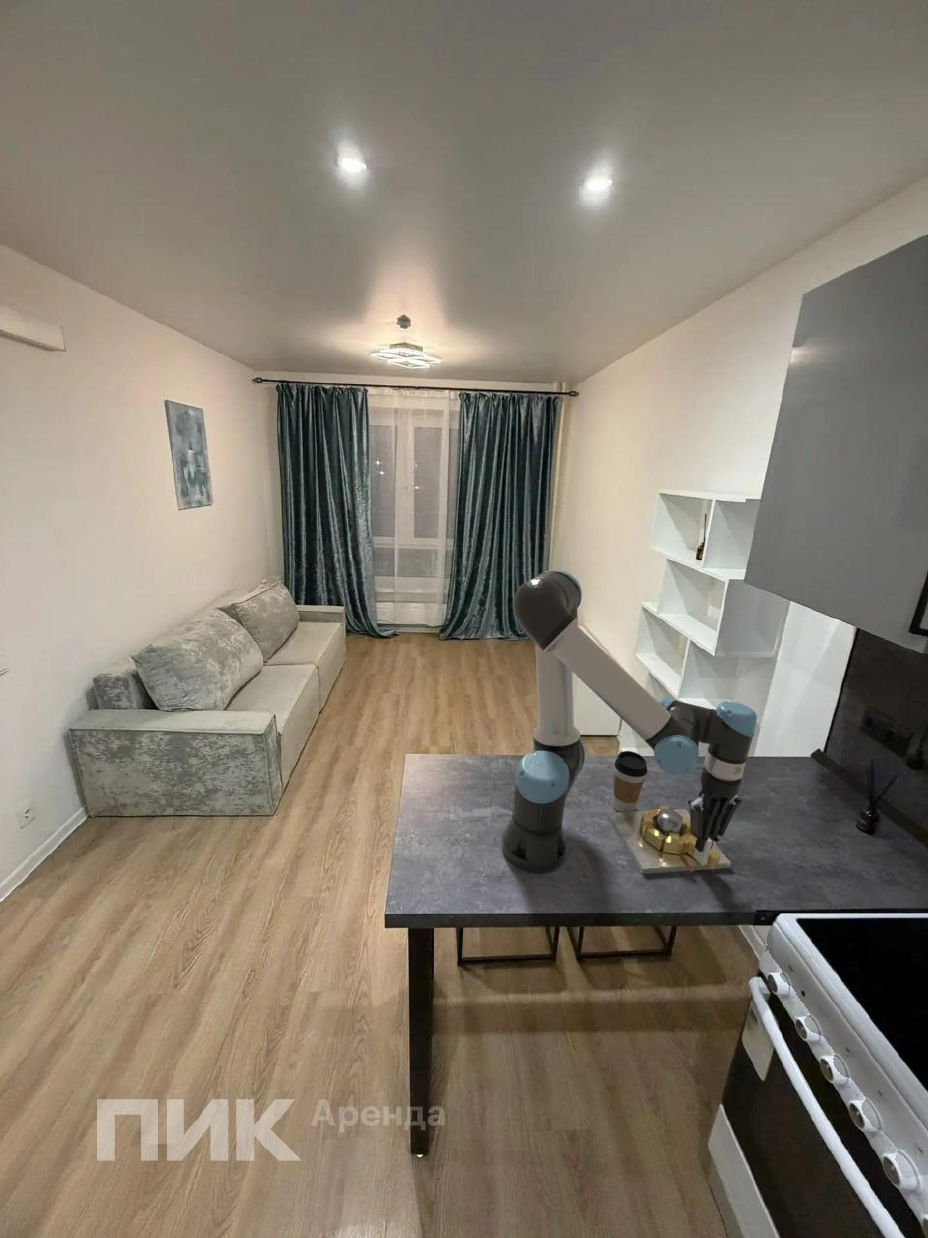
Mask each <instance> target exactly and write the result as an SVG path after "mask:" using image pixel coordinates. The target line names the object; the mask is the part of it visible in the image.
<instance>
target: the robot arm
mask: <svg viewBox="0 0 928 1238" xmlns="http://www.w3.org/2000/svg"><path fill="white" fill-rule="evenodd" d="M582 594H583V593H582V588H581V585H580V583H579V581H578V580H577V579H576V577H575V576H573V575H572V574H571V573H569V572H567V571H565V570H561V569H551V570H546V571H543V572H541V573H539V574H538V575H537V576H535V577H533V578H531V579H529V580H527V581H524V583H522V584H521V585H520V586H519V588H518V589H517V591H516V592H515V594H514V597H513V604H512V607H513V608H512V609H513V613H514V617H515V619H516V621H517V622H518V625H519V627H521V629H522V630H523V632H524V633H526V635H527V636H528V637H529V638H530V639H531V640H532V642H534V644H535V647H534V649H535V650H534V651H535V667H536V669H535V670H536V689H537V690H536V691H537V692H536V693H537V695H536V696H537V711H538V713H537V716H538V727H536V728H535V729H534V731H533V733H532V734H533V737H532V739H533V741H532V743H533V752H528V753H526V754H525V755H524V756H522V758H521V759H520V760H519V762H518V764H517V768H516V771H515V777H514V779H515V782H514V784H515V785H514V791H513V793H514V795H513V804H512V811H511V812H512V814H511V817H510V819H509V821H508V823H507V825H506V827H505V829H504V831H503V833H502V837H501V838H502V840H501V849H502V853H503V855H504V857H505V858H506V859H507V860H508V861H509V862H510V863H511V865H513V866H515V867H516V868H518V869H519V870H522V871H524V872H525V871H526V872H527V873H534V874H546V873H551V872H553V871H556V870H557V869H559V868H560V867H561V866H562V865H563V863H564V862H565V860H566V854H567V853H566V852H567V842H566V839H565V835H564V830H563V819H564V812H565V807H566V806H565V805H566V802H567V798H568V796H569V794H570V791H571V790H572V787H573V786H574V784H575V781H576V780H577V777H578V776H579V774H580V772H581V771H582V769H583V768H584V765H585V760H586V749H585V745H584V742H583V740H581V733H580V731H579V729H577V728H576V726H575V722H574V721H575V717H574V716H575V715H574V683H573V674H574V675H575V676H576V677H577V678H579V680H581V682H582V683H583V684H585V685H586V686H587V687H588V688H589V689H590V690H591V691H592V692H594V694H595V695H596V696H597V697H598V698H599V699H600V700H601V701H603V702H604V704H606V706H608V707H609V708H610V709H611V710H612V711H613V712H614V713H615V714H616V715H617V716H618V717H619V718H620V719H621V720H622V721H623V722H624V723H625V724H627V725H628V726H629V728H631V729H632V730H633V731H634V732H635V733H636V734H637V735H638V736H639V737H640V738H641V739H642V740H643V741H644V742H645V743H646V744H647V745H648V746H649V747H650V748H651V749H652V750H653V755H654V759H655V762H656V763H657V766H658V767H659V768H660V769H661V770H663V771H664V772H666V773H668V774H670V775H677V776H678V775H679V776H680V775H681V776H682V775H685V774H688V773H689V772H691V771H692V770H693V769H694V767H696V765H697V761H698V756H699V753H700V752H699V745H700V744H699V743H702V744H707V745H708V748H707V751H706V755H705V759H704V763H703V768H702V772H701V776H700V785H701V790H700V792H699V793H698V797H697V798H696V799H695V800H693V799H688V801H687V804H688V806H689V809H690V810H689V812H690V813H689V814H690V833H691V834H692V835H693V836H694V837H695V838H696V843H695V848H696V849H695V853H694V858H695V859H696V860H697V861H698V862H699V863H700V864H701V865H702V866H703V865H707V861H708V857H709V854H710V850H711V849H712V846H713V843H714V841H715V843H718V842H719V841H720V838H718V837H722V836H724V835H725V833H726V830H727V828H728V827H729V824H730V822H731V820H732V818H733V815H734V814H735V812H736V809H737V808H738V807H739V806H740V804H741V803H742V802H743V801H742V798H740V797H738V794H739V790H740V787H741V783H742V777H743V774H744V771H745V767H746V762H747V760H748V756H749V754H750V750H751V745H752V743H753V738H754V736H755V730H756V726H757V725H756V724H757V719H758V717H757V714H756V712H755V711H754V709H752V708H750V706H747V705H745V704H742V703H739V702H735V701H731V702H730V701H722V702H720V703H719V704H718V705H717V707H716V709H714V708H708V707H705V706H704V707H702V706H699V705H695V704H692V703H689V702H688V703H687V702H684V701H679V700H678V699H670V698H665V697H661V698H659V699H658V700H657V699H656V698H655V697H654V696H653V695H652V694H650V692H648V691H647V690H646V689H645V688H644V687H643V686H642V685H641V684H640V683H639V682H638V681H637V680H635V678H633V676H631V675H630V674H629V673H628V672H627V671H626V670H625V669H624V668H623V667H622V666H621V665H620V664H618V663H617V661H615V660H614V659H613V658H612V657H611V656H610V655H609V654H608V653H607V652H606V651H605V650H604V649H602V648H601V647H600V646H599V645H598V644H597V642H595V641H594V640H593V639H592V638H591V637H590V636H589V635H588V634H587V633H585V632H584V631H583V630H582V629H581V628H580V626H579V625H578V621H579V620H578V619H579V618H578V608H579V607H580V604H582V602H581V601H582V596H583V595H582Z"/></svg>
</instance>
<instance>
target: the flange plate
mask: <svg viewBox="0 0 928 1238" xmlns="http://www.w3.org/2000/svg"><path fill="white" fill-rule="evenodd" d="M648 811H649V810H641V811H639V810H638V811H636V810H635V811H634V812H619V811H617V812H616V811H615V812H608V814H607V818H608V820H609V822H610V823H611V825H612V827H613V829H614V831H615V832H616V834H617V835H618V837H619V839H620V840H621V842H622V843H623V845H624V846H625V848H626V850H627V852H628V853H629V855H630V857H631V858H632V860H633V861H634V863H635V865H636V867H637V868H638V870H639V871H640V873H641V874H642V875H646V874H647V875H648V874H659V873H660V874H661V873H662V874H663V873H678V872H688V871H689V872H691V873H692V872H694V871H703V870H704V871H707V870H711V869H710V868H709V867H707V866H706V865H703V866H702V865H701V864H700V863H699V862H698V861H697V860H696V859H695V858H694V857H693V856H691V855H690V854H688V853H687V852H686V853H685V854H683V853H682V854H681V855H680V854H673V853H667V852H663V850H662V849H661V850H658V849H657V848H655V847H654V846H653V845H651V844H650V843H648V842H647V841H646V840H645V838H643V836H642V832H641V829H640V823H641V818H642V815H643V814H645V813H646V812H648ZM682 817H683V818H685V819H686V820H688V821H689V822H690V813H689V812H688V810H687V809H686V808H682V809H681V808H680V809H679V808H678V809H677V808H676V809H671V808H669V809H661V810H659V812H658V817H657V822H656V824H655V825H653V828H654V829H656V830H657V831H659V832H660V833H662V834H663V835H665V836H668V834H669V832H671V833H678V836H679V838H680V837H682V834H681V833H680V830H681V826H682V822H683V818H682ZM712 850H714V851H715V852H717V853H719V854H720V855H721V856H720V860H719V863H718V866H717V867H716V868H715V869H714V870H720V869H721V870H722V869H730V868H731V864H732V862H731V861H730V860H729V859H728V858H727V856H726V855H725V854H724V852H722V851H721V849H720V848H719V847H718V846H717V842H715V841H714V843H713V846H712Z"/></svg>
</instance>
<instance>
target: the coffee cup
mask: <svg viewBox="0 0 928 1238" xmlns="http://www.w3.org/2000/svg"><path fill="white" fill-rule="evenodd" d="M647 765H648V764H647V760H646V759H645V757H643V756H642V755H641V754H640V753H637V752H636V751H630V750H622V751H621V752H619V753H618V754H617V758H616V759H615V761H614V767H615V770H614V775H613V794H612V807H613V808H614V810H616V811H617V812H635V811H636V807H637V804H638V800H639V797H640V795H641V791H642V788H643V785H644V782H645V776H646V775H647V774H648V767H647Z"/></svg>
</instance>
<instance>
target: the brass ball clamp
mask: <svg viewBox="0 0 928 1238" xmlns="http://www.w3.org/2000/svg"><path fill="white" fill-rule="evenodd" d="M661 809H670V808H669V806H668V805H667V806H666V805H661V804H660V805H659V808H654V809H653V808H652V809H649V810H647V811H648V812H646V813H645V814H643V815H642V818H641V823H640V829H641V832H642V836H643V838H645V840H646V841H647V842H648V843H650V844H651V845H653V846H654V847H655V848H657V849H658V850H661V849H662V850H663V852H667V853H673V854H680V855H681V854H682V853H683V854H685V853H686V852H687V853H688V854H690V855H691V856H693V857H694V853H695V849H696V848H695V843H696V838H695V837H694V836H693V835H692V834H691V833H690V822H689V821H688V820H686V819H685V818H683V817H682V818H683V822H682V826H681V830H680V833H681V834H682V837H680V838H679V836H678V833H671V832H669V834H668V836H665V835H663V834H662V833H660V832H659V831H657V830H656V829H654V828H653V825H655V824H656V822H657V817H658V812H659V810H661ZM720 856H721V855H720V854H719V853H717V852H715V851H714V850H712V849H711V850H710V854H709V857H708V861H707V865H706V866H707V867H709V868H710V869H709V870H712V871H714V870H716V869H715V868H716V867H717V866H718V863H719V860H720Z"/></svg>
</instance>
